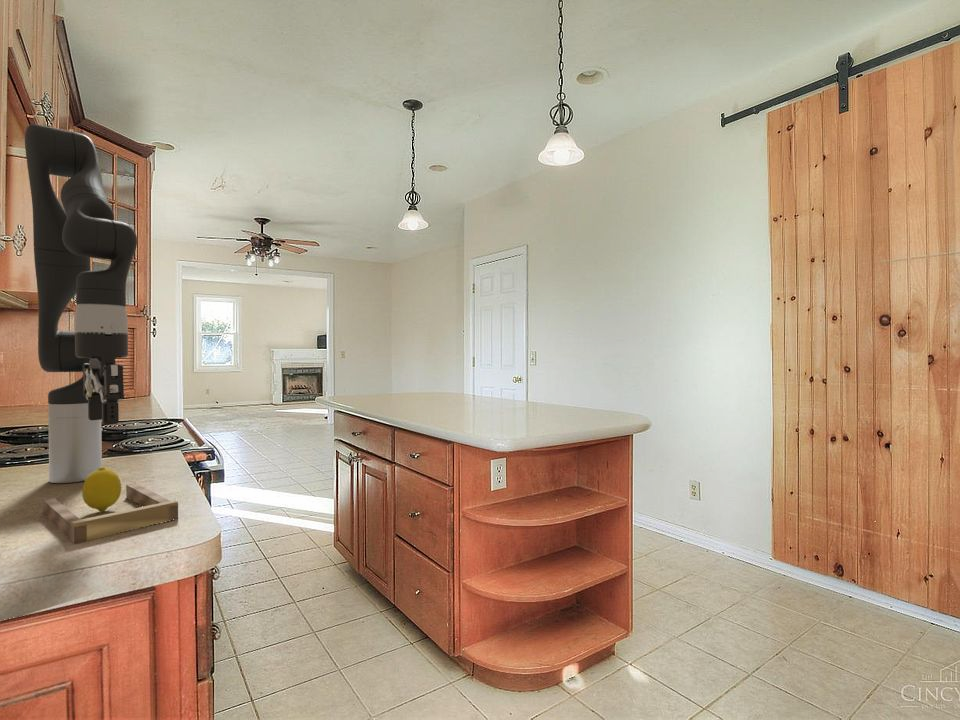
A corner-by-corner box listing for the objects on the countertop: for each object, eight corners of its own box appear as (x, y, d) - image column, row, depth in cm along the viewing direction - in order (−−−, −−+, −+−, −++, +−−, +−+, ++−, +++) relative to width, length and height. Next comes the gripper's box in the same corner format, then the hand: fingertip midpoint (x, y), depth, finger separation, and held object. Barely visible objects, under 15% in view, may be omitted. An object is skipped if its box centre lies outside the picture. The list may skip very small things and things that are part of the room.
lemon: (100, 517, 85) (100, 471, 85) (74, 515, 86) (73, 470, 86) (129, 507, 91) (128, 464, 91) (104, 506, 92) (103, 463, 92)
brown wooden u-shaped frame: (42, 513, 88) (42, 496, 88) (135, 495, 98) (135, 480, 98) (74, 543, 74) (73, 523, 74) (178, 519, 85) (178, 501, 85)
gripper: (65, 331, 90) (66, 420, 90) (86, 329, 81) (88, 428, 81) (114, 332, 96) (115, 416, 96) (140, 330, 87) (141, 423, 87)
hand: (103, 422), depth 89 cm, fingers open, 8 cm apart
